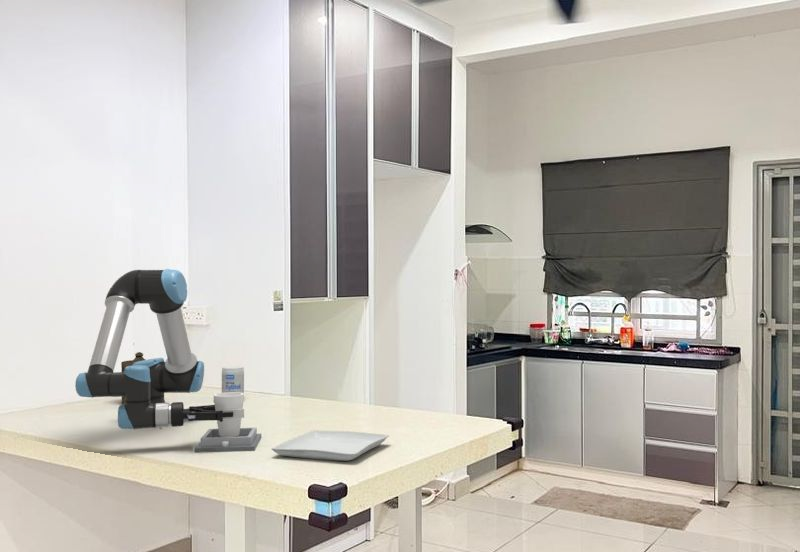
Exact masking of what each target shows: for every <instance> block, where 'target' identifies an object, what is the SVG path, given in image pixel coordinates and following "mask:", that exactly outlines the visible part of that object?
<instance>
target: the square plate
mask: <svg viewBox="0 0 800 552" xmlns="http://www.w3.org/2000/svg"><path fill="white" fill-rule="evenodd" d="M389 437H390V434H389V435H388V434H381V433H380V434H379V433H371V432H362V431H348V430H347V431H346V430H345V431H344V430H311V431H308V432H305V433H303V434H301V435H300V434H299V435H298V436H296V437H294V438H291V439H289V440H287V441H284V442H282V443H280V444H277V445H276V446H274V447H272V448H271V451H273V452H274V453H275V454H277V455H280V456H282V457H291V458H292V457H293V458H301V459H310V460H311V459H313V460H324V461H325V460H326V461H337V462H338V461H339V462H340V461H342V462H343V461H346V462H347V461H352V460H355V459H356V458H358V457H360V456H361V455H363V454H364V453H367V452H368V451H370V450H372V449H374V448H376V447H378V446H379V445H381V444H383V442H385V441H386V440H387V438H389Z"/></svg>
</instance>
